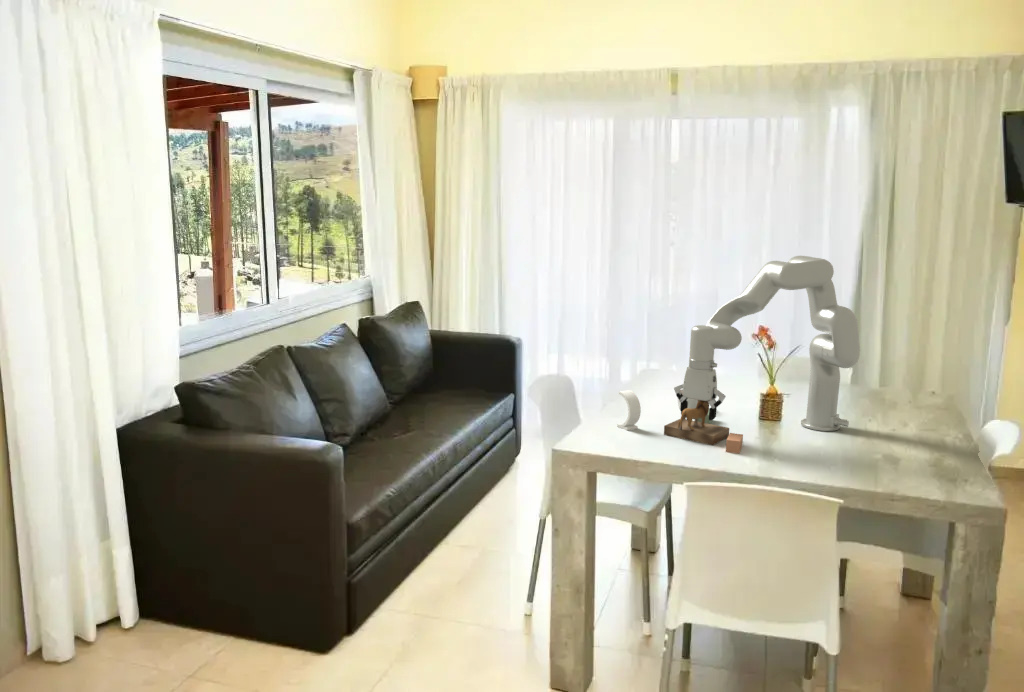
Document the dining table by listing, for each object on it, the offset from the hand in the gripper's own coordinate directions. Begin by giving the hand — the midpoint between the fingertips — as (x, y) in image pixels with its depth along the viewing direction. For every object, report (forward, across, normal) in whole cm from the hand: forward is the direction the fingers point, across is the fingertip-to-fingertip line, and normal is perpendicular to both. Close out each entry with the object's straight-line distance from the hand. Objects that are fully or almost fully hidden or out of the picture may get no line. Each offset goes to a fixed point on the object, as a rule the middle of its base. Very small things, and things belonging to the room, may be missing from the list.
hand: (697, 416), depth 272 cm
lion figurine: (+4, +1, +1) cm, 4 cm away
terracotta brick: (+7, -15, +5) cm, 17 cm away
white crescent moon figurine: (+6, +21, +7) cm, 23 cm away
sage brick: (+7, +5, -17) cm, 19 cm away
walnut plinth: (+6, 0, 0) cm, 6 cm away
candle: (+7, +17, -29) cm, 34 cm away
